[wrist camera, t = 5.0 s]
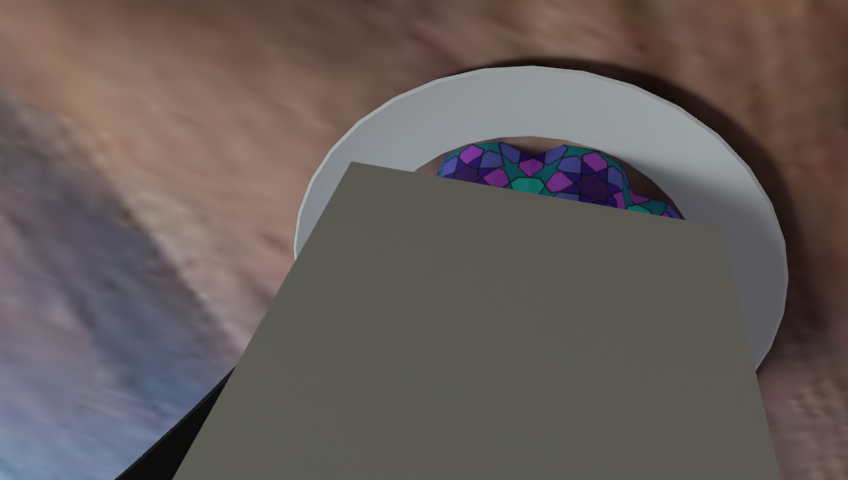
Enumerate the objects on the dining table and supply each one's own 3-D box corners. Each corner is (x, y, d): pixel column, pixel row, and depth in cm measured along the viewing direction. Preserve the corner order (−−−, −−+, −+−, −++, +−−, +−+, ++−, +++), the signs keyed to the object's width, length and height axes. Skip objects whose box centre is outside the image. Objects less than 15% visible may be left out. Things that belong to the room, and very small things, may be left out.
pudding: (852, 370, 20) (918, 551, 16) (453, 479, 26) (422, 637, 21) (653, -54, 16) (671, 43, 11) (212, 186, 21) (111, 314, 17)
